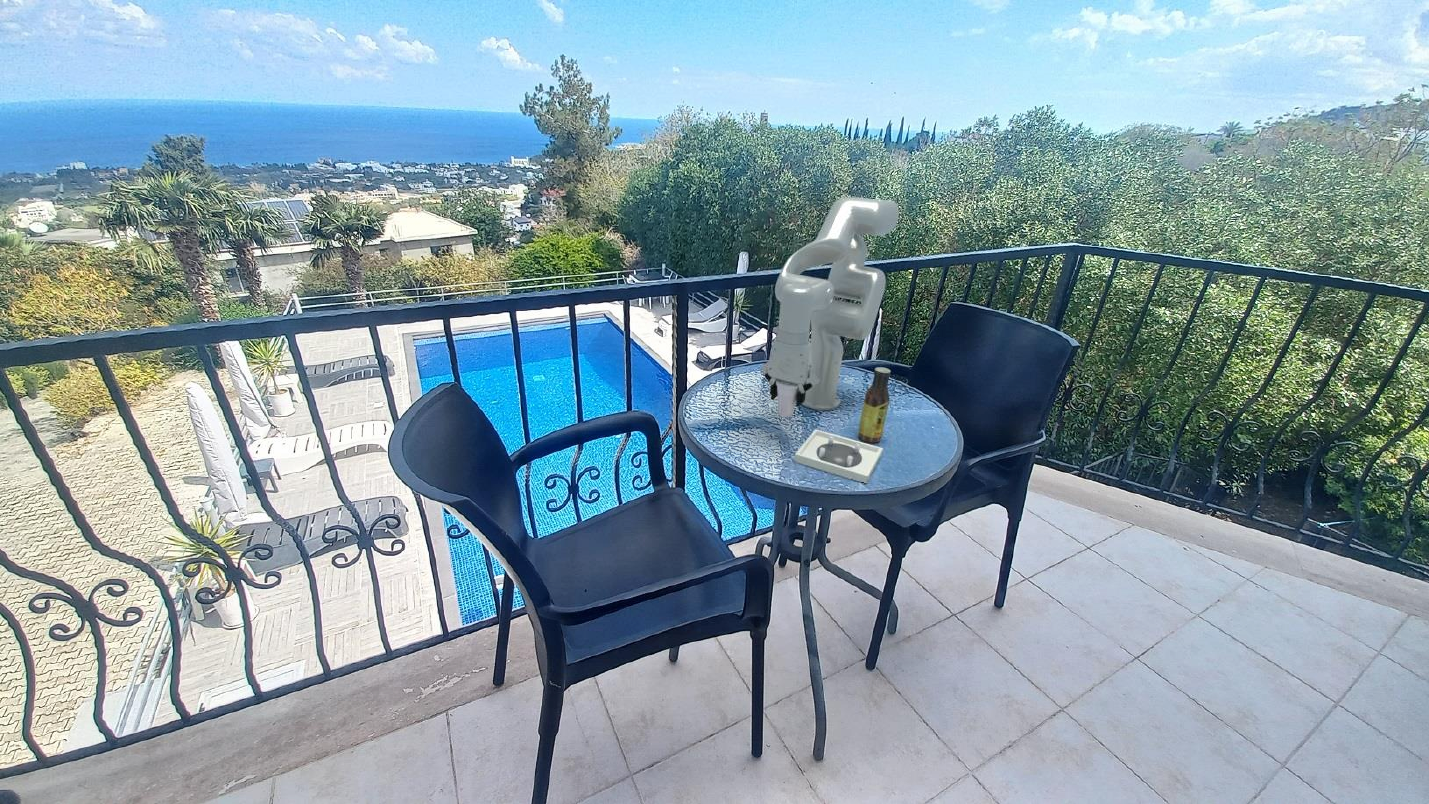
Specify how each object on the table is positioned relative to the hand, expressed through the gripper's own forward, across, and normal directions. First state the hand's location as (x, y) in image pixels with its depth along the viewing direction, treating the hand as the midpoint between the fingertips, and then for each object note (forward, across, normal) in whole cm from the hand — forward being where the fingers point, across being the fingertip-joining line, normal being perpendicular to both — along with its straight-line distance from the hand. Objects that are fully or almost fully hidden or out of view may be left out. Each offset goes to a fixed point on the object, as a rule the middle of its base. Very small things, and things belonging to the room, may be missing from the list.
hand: (786, 400), depth 139 cm
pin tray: (+11, +16, -2) cm, 20 cm away
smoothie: (+4, 0, 0) cm, 4 cm away
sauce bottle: (+12, +20, +13) cm, 26 cm away
